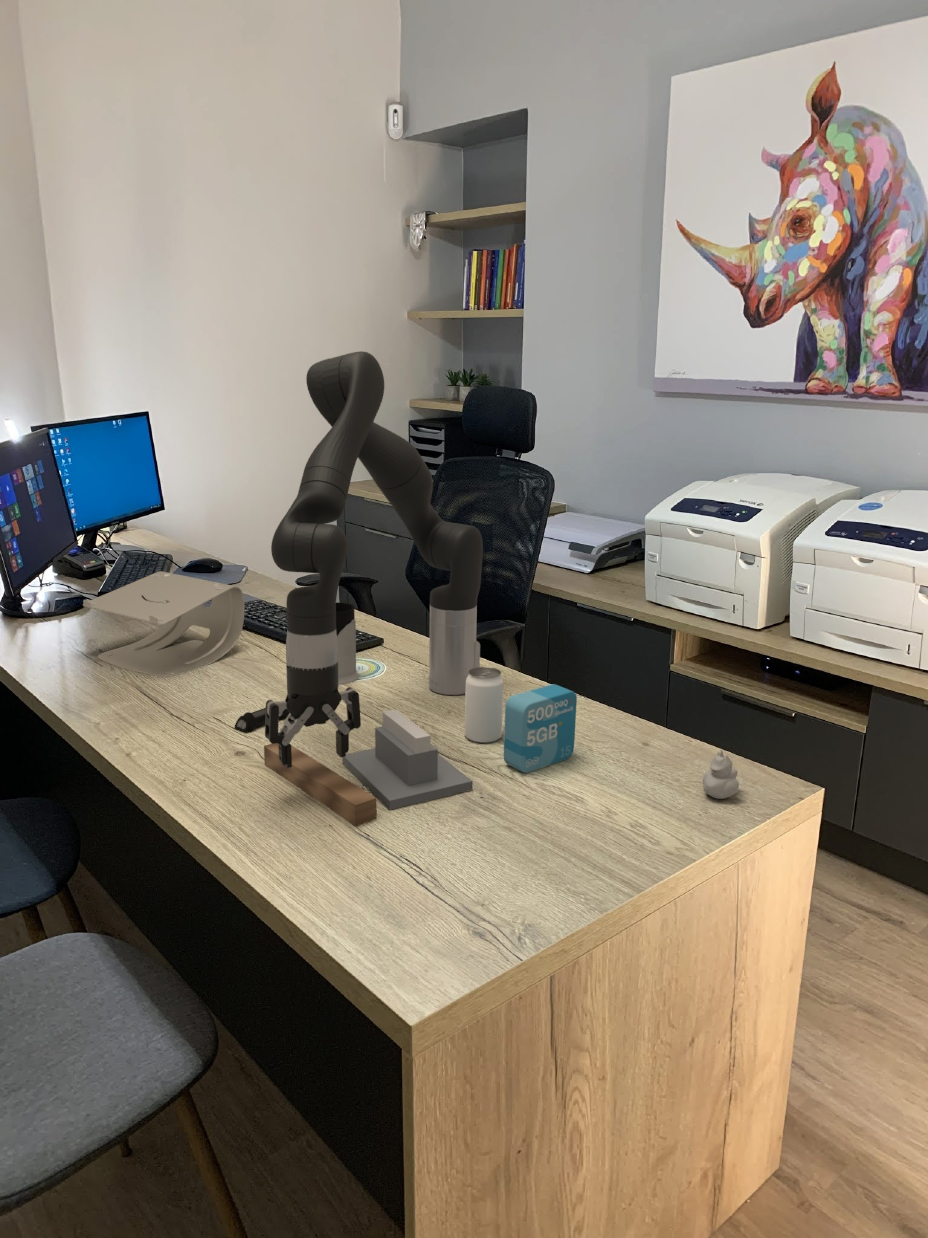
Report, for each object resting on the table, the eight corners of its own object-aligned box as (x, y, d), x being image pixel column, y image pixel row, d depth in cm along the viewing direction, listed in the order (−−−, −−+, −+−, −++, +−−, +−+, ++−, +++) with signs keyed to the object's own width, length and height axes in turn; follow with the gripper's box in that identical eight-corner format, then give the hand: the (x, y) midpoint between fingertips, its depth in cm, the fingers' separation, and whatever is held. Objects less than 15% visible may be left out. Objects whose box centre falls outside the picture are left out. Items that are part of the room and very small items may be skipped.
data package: (521, 776, 146) (523, 705, 143) (502, 766, 150) (504, 697, 147) (574, 757, 154) (578, 689, 150) (555, 748, 157) (558, 682, 154)
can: (506, 732, 163) (508, 668, 160) (495, 746, 157) (497, 680, 154) (471, 727, 165) (472, 664, 162) (459, 740, 159) (460, 675, 156)
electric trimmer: (313, 712, 172) (313, 696, 171) (246, 735, 160) (246, 718, 160) (300, 707, 174) (299, 691, 174) (233, 730, 163) (232, 713, 162)
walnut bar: (264, 766, 149) (263, 745, 148) (284, 760, 151) (283, 740, 150) (355, 828, 130) (355, 805, 129) (376, 820, 132) (376, 798, 131)
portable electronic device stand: (250, 651, 204) (246, 584, 200) (165, 681, 185) (159, 607, 181) (171, 632, 217) (166, 568, 213) (84, 658, 198) (77, 588, 194)
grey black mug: (347, 687, 184) (345, 614, 180) (284, 678, 188) (281, 607, 184) (365, 673, 192) (364, 604, 188) (304, 665, 196) (302, 597, 192)
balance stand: (419, 747, 156) (419, 697, 154) (472, 790, 141) (473, 735, 139) (342, 763, 150) (341, 711, 147) (389, 810, 135) (389, 753, 132)
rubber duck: (692, 794, 141) (697, 746, 139) (718, 783, 145) (723, 736, 143) (722, 808, 137) (727, 758, 135) (747, 795, 141) (753, 747, 139)
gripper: (347, 645, 141) (348, 743, 145) (256, 657, 134) (260, 760, 139) (367, 659, 135) (367, 761, 139) (273, 672, 128) (276, 779, 132)
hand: (314, 760), depth 139 cm, fingers open, 8 cm apart
